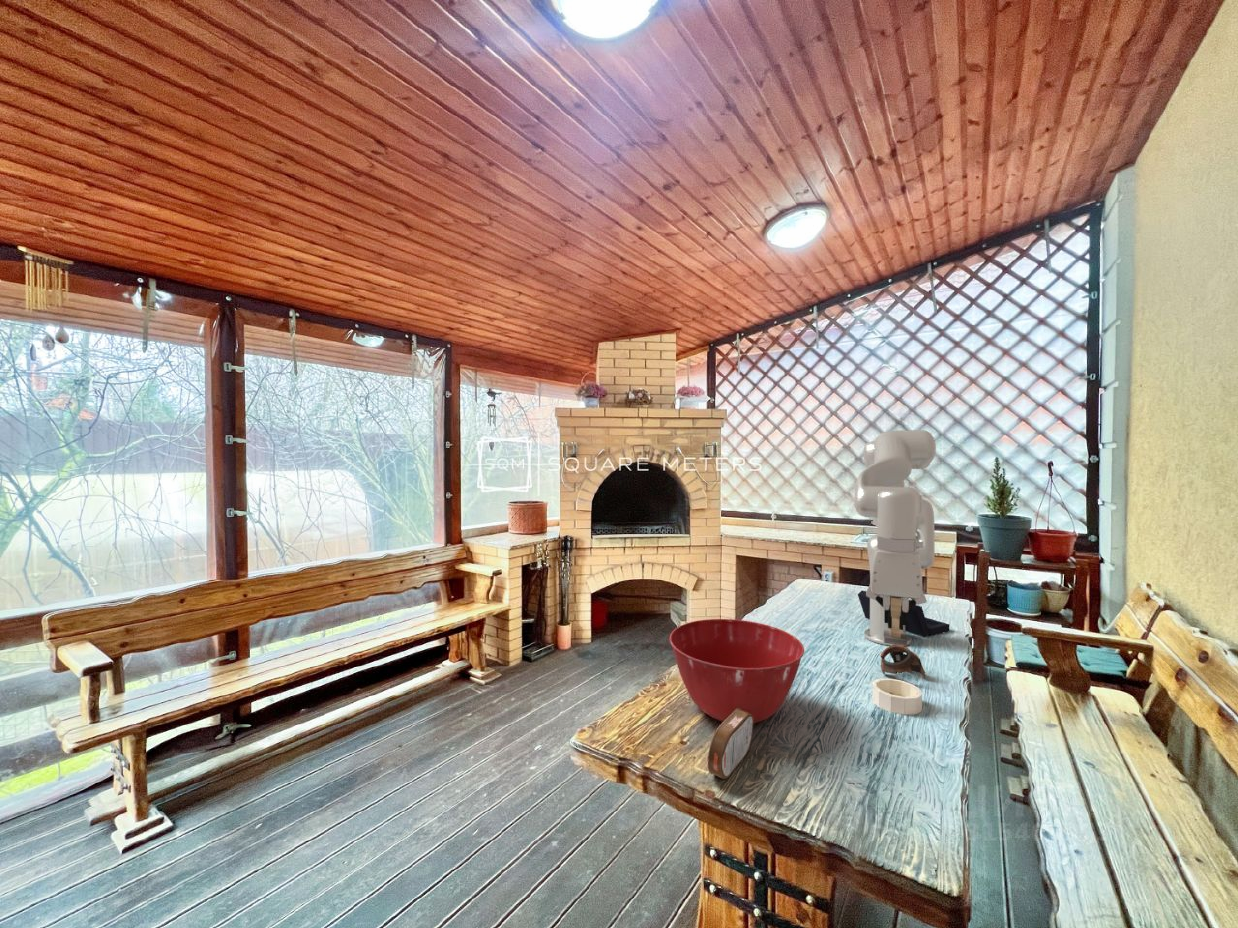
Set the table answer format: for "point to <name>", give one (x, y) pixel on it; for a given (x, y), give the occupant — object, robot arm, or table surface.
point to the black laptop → (911, 619)
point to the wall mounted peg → (895, 624)
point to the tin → (730, 743)
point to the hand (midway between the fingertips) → (895, 626)
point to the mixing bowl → (736, 665)
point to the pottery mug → (901, 661)
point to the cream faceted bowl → (897, 696)
